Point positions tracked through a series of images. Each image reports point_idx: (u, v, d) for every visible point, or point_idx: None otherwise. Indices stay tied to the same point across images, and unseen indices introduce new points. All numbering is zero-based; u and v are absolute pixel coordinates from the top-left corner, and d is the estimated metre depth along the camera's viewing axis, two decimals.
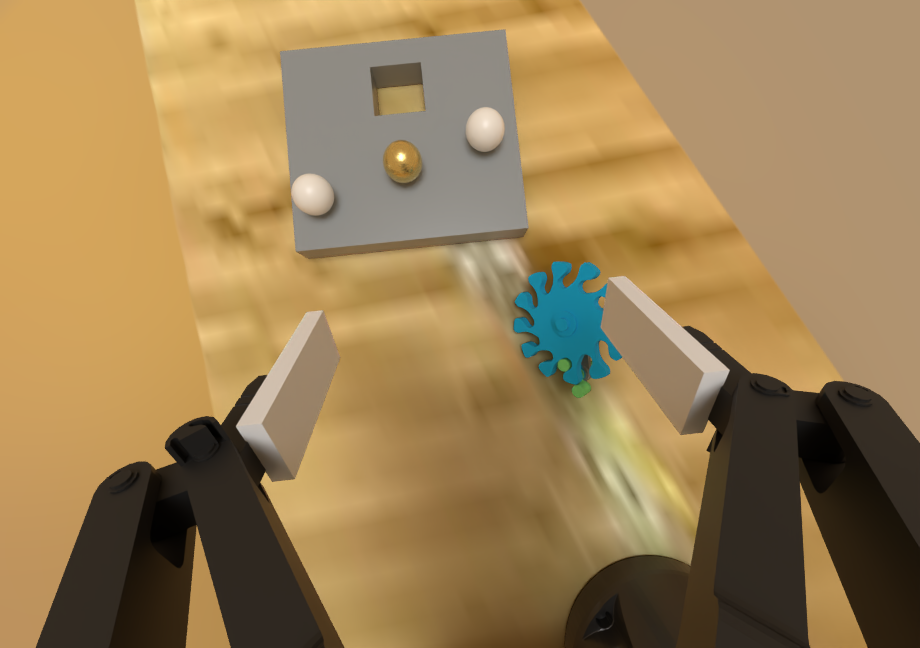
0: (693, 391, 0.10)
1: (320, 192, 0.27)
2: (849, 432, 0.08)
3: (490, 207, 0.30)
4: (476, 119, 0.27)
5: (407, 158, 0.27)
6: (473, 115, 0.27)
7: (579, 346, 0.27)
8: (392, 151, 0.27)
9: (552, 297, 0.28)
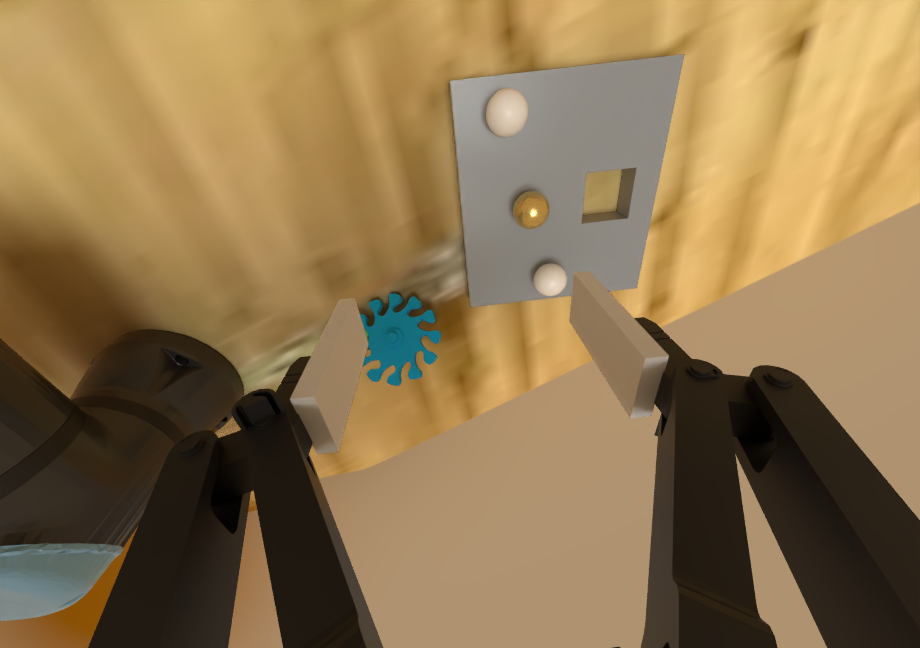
0: (638, 376, 0.11)
1: (503, 130, 0.26)
2: (777, 414, 0.09)
3: (488, 279, 0.35)
4: (554, 278, 0.32)
5: (528, 221, 0.29)
6: (559, 275, 0.33)
7: (376, 348, 0.37)
8: (537, 208, 0.29)
9: (413, 329, 0.37)
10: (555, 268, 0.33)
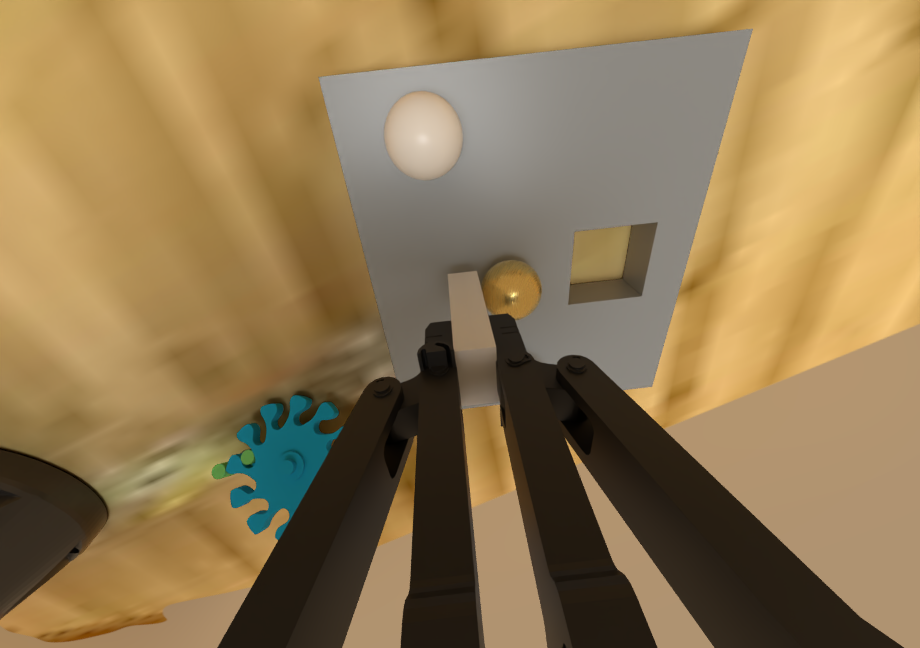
0: None
1: (416, 170, 0.14)
2: (585, 401, 0.10)
3: None
4: None
5: (530, 310, 0.17)
6: None
7: (265, 480, 0.25)
8: (538, 286, 0.17)
9: (321, 454, 0.25)
10: None
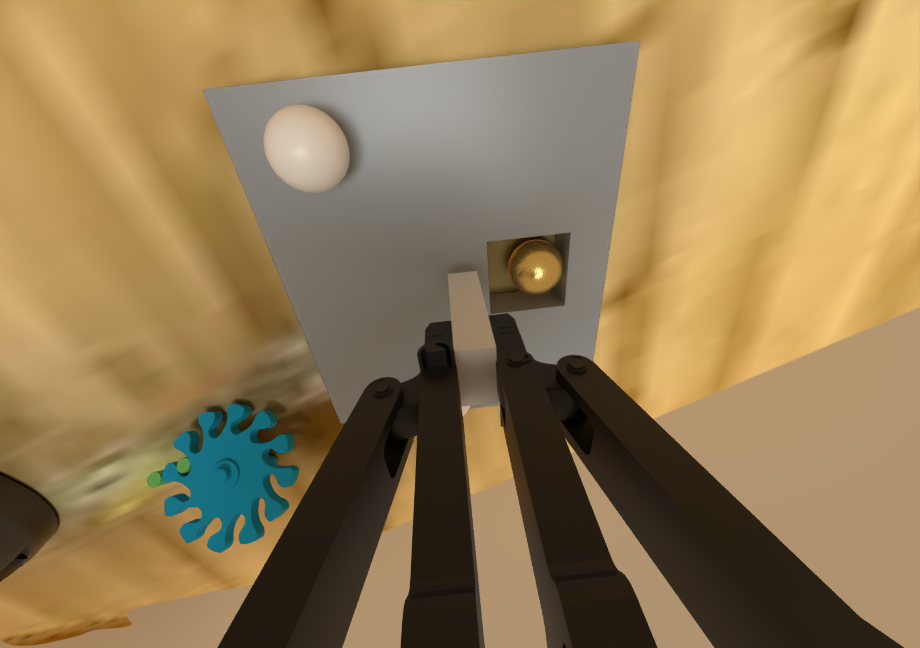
0: None
1: (297, 184, 0.14)
2: (585, 401, 0.10)
3: (359, 388, 0.23)
4: None
5: (516, 283, 0.20)
6: None
7: (199, 489, 0.25)
8: (526, 269, 0.19)
9: (256, 463, 0.25)
10: None
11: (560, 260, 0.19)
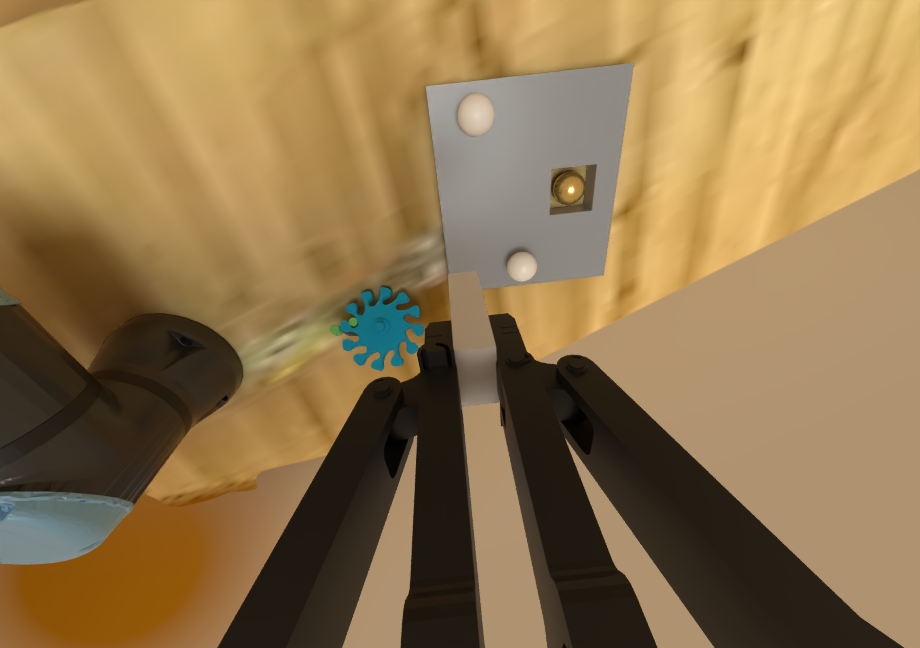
0: None
1: (472, 130, 0.29)
2: (585, 401, 0.10)
3: (466, 266, 0.39)
4: (524, 265, 0.36)
5: (554, 195, 0.36)
6: (529, 262, 0.36)
7: (364, 335, 0.40)
8: (559, 185, 0.35)
9: (399, 321, 0.41)
10: (525, 256, 0.36)
11: (580, 183, 0.34)
